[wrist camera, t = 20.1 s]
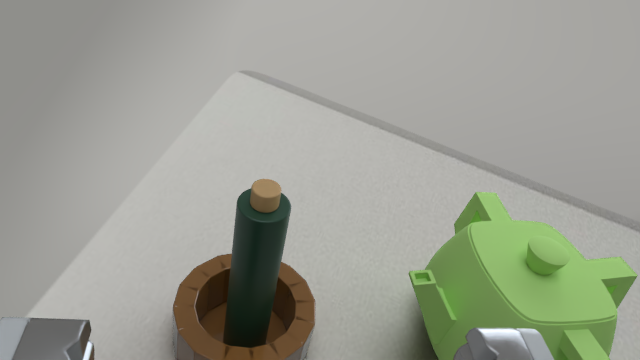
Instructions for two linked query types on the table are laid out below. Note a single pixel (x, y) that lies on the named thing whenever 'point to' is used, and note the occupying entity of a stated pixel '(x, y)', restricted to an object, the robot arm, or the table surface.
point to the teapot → (519, 285)
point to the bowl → (210, 311)
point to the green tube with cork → (255, 263)
